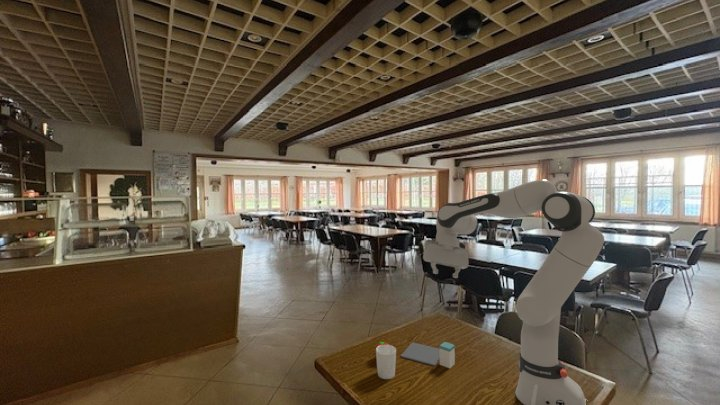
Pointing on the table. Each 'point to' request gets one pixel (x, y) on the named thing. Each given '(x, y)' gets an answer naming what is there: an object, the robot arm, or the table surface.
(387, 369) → the white cup
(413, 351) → the slate tile
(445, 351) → the block
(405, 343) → the table surface
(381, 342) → the clementine
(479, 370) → the table surface
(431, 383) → the table surface
